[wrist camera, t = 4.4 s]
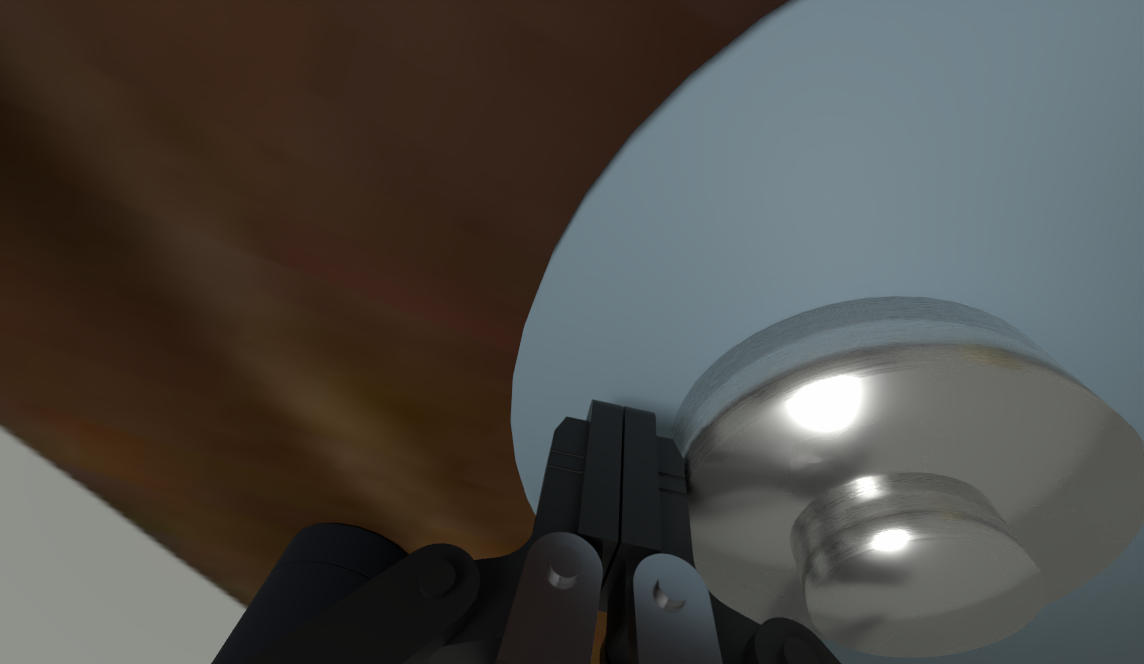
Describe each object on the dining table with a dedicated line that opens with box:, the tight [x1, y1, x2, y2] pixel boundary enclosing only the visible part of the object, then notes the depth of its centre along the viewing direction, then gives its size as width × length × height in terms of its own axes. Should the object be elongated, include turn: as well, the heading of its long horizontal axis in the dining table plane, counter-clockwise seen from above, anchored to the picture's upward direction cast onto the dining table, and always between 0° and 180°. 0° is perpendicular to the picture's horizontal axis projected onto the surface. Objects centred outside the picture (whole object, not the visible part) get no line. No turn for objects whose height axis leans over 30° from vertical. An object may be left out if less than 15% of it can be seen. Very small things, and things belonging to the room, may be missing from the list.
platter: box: [511, 0, 1144, 664], centre depth 12 cm, size 24×24×6 cm
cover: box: [671, 296, 1144, 658], centre depth 11 cm, size 9×9×4 cm
